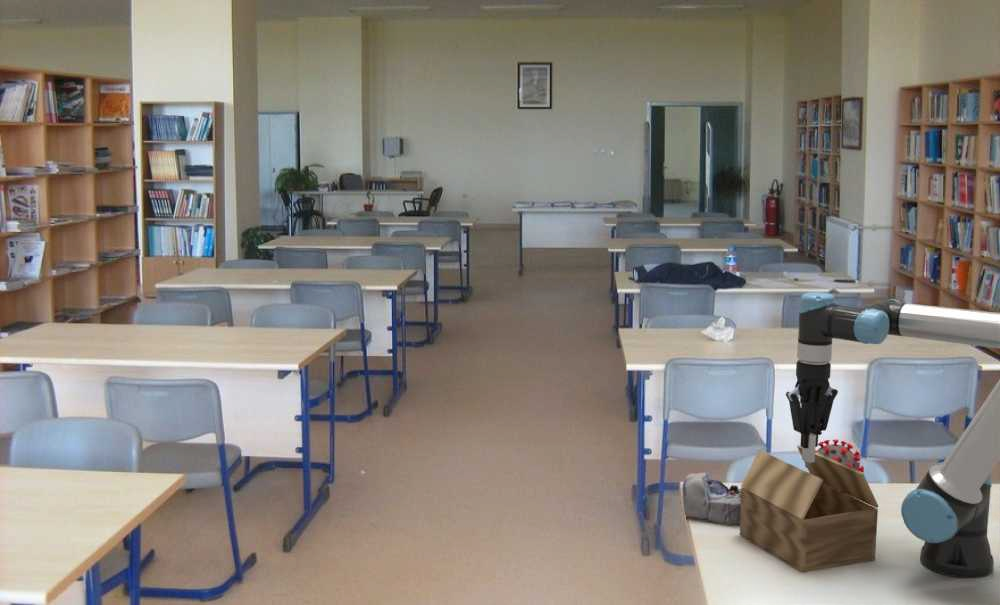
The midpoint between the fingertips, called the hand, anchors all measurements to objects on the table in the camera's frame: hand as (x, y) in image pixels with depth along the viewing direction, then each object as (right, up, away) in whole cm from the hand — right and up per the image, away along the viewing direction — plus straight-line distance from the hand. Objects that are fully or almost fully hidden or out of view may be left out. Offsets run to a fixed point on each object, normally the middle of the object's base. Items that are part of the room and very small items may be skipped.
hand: (808, 460), depth 253 cm
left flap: (-7, -5, -2) cm, 9 cm away
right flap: (+7, -4, +3) cm, 9 cm away
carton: (0, -21, +3) cm, 21 cm away
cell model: (-15, -18, +23) cm, 33 cm away
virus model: (+18, -15, +40) cm, 46 cm away
